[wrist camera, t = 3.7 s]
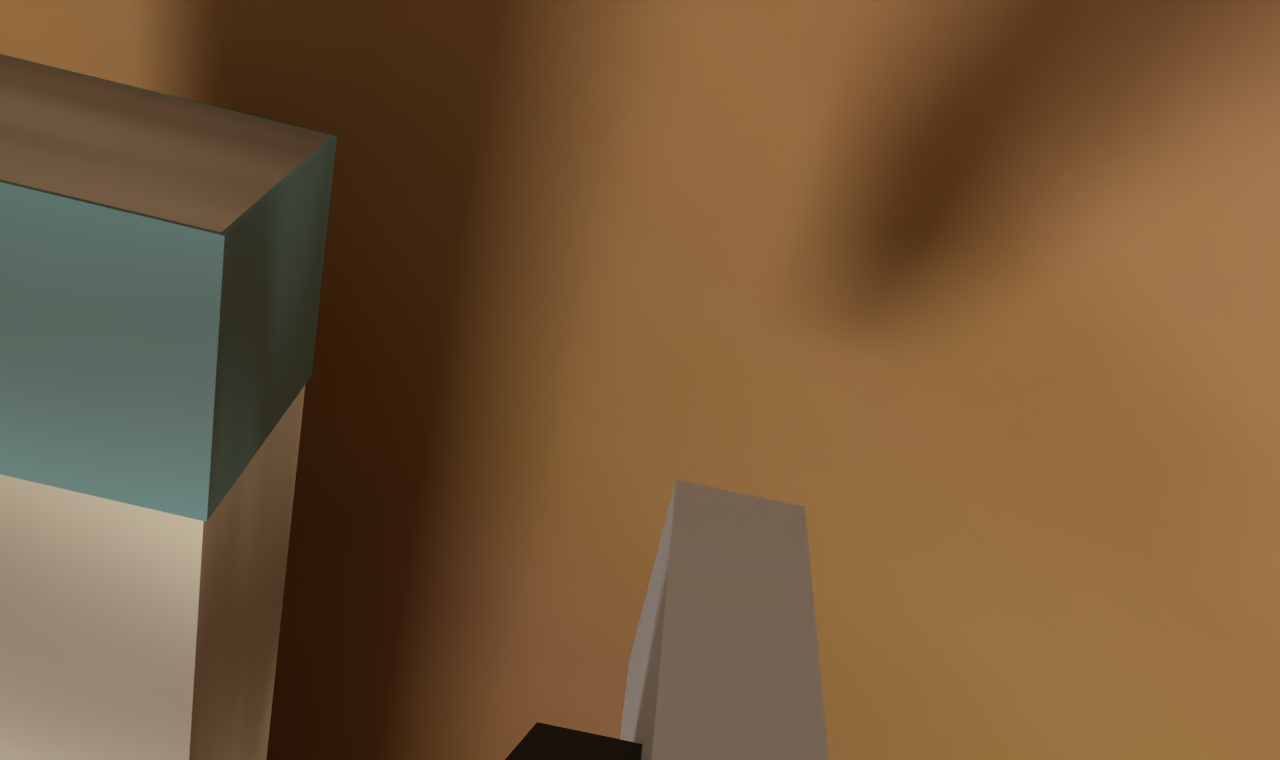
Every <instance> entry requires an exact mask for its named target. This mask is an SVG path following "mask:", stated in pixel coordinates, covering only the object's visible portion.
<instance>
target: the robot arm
mask: <svg viewBox="0 0 1280 760" xmlns="http://www.w3.org/2000/svg"><path fill="white" fill-rule="evenodd" d="M505 760H828V749H827V739H826V728H825V717H824V707H823V696H822V685H821V675H820V664H819V653H818V643H817V632H816V621H815V611H814V600H813V589H812V579H811V568H810V557H809V547H808V536H807V526H806V515H805V507H803V506H798V505H794V504H789V503H784V502H779V501H775V500H770V499H765V498H761V497H756V496H751V495H747V494H742V493H737V492H732V491H728V490H723V489H718V488H714V487H709V486H704V485H699V484H695V483H690V482H685V481H681V480H676V482H675V485H674V489H673V493H672V497H671V501H670V505H669V509H668V513H667V516H666V520H665V524H664V528H663V532H662V536H661V540H660V544H659V547H658V551H657V555H656V559H655V563H654V567H653V571H652V575H651V578H650V582H649V586H648V590H647V594H646V598H645V602H644V606H643V609H642V613H641V617H640V621H639V625H638V629H637V633H636V637H635V640H634V644H633V648H632V652H631V656H630V660H629V667H628V676H627V684H626V692H625V700H624V708H623V717H622V725H621V733H620V739H615V738H611V737H606V736H601V735H596V734H591V733H586V732H581V731H577V730H572V729H567V728H562V727H557V726H552V725H547V724H543V723H538V722H537V723H536V724H535V725H534V727H533V728H532V729H531V730H530V731H529V732H528V734H527V735H526V736H525V737H524V738H523V740H522V741H521V742H520V743H519V744H518V745H517V747H516V748H515V749H514V750H513V751H512V752H511V754H510V755H509V756H508V757H507V758H506V759H505Z"/></svg>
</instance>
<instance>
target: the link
mask: <svg viewBox="0 0 1280 760" xmlns="http://www.w3.org/2000/svg"><path fill="white" fill-rule="evenodd" d="M336 143H337V136H334V135H330V134H326V133H322V132H318V131H314V130H310V129H305V128H301V127H297V126H293V125H289V124H285V123H281V122H277V121H273V120H269V119H264V118H260V117H256V116H252V115H248V114H244V113H240V112H236V111H232V110H228V109H223V108H219V107H215V106H211V105H207V104H203V103H199V102H195V101H191V100H187V99H182V98H178V97H174V96H170V95H166V94H162V93H158V92H154V91H150V90H146V89H141V88H137V87H133V86H129V85H125V84H121V83H117V82H113V81H109V80H104V79H100V78H96V77H92V76H88V75H84V74H80V73H76V72H72V71H68V70H63V69H59V68H55V67H51V66H47V65H43V64H39V63H35V62H31V61H27V60H22V59H18V58H14V57H10V56H6V55H2V54H0V760H266V758H267V748H268V739H269V729H270V720H271V710H272V700H273V691H274V681H275V672H276V662H277V652H278V643H279V633H280V624H281V614H282V604H283V595H284V585H285V576H286V566H287V557H288V547H289V537H290V528H291V518H292V509H293V499H294V489H295V480H296V470H297V461H298V451H299V441H300V432H301V422H302V413H303V403H304V393H305V384H306V383H307V381H308V380H309V379H310V377H311V376H312V368H313V359H314V350H315V340H316V331H317V322H318V312H319V303H320V293H321V284H322V275H323V265H324V256H325V247H326V237H327V228H328V218H329V209H330V200H331V190H332V181H333V172H334V162H335V153H336Z"/></svg>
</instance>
